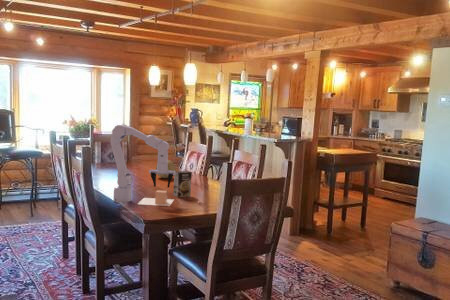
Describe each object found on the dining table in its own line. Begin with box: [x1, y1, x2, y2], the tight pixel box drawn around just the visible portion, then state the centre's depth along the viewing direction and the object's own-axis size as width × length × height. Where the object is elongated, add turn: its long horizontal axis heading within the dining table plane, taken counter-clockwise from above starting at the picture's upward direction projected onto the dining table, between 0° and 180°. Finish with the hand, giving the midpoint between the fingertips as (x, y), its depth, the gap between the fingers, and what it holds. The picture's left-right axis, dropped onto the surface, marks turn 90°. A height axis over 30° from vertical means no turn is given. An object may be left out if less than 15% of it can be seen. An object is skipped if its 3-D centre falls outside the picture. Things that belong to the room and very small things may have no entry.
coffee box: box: [172, 170, 192, 198], centre depth 263 cm, size 9×6×16 cm
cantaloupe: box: [155, 159, 176, 179], centre depth 328 cm, size 15×15×15 cm
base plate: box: [137, 197, 175, 207], centre depth 243 cm, size 18×17×1 cm
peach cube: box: [154, 189, 168, 204], centre depth 241 cm, size 6×6×6 cm
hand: (161, 186), depth 240 cm, fingers open, 7 cm apart
